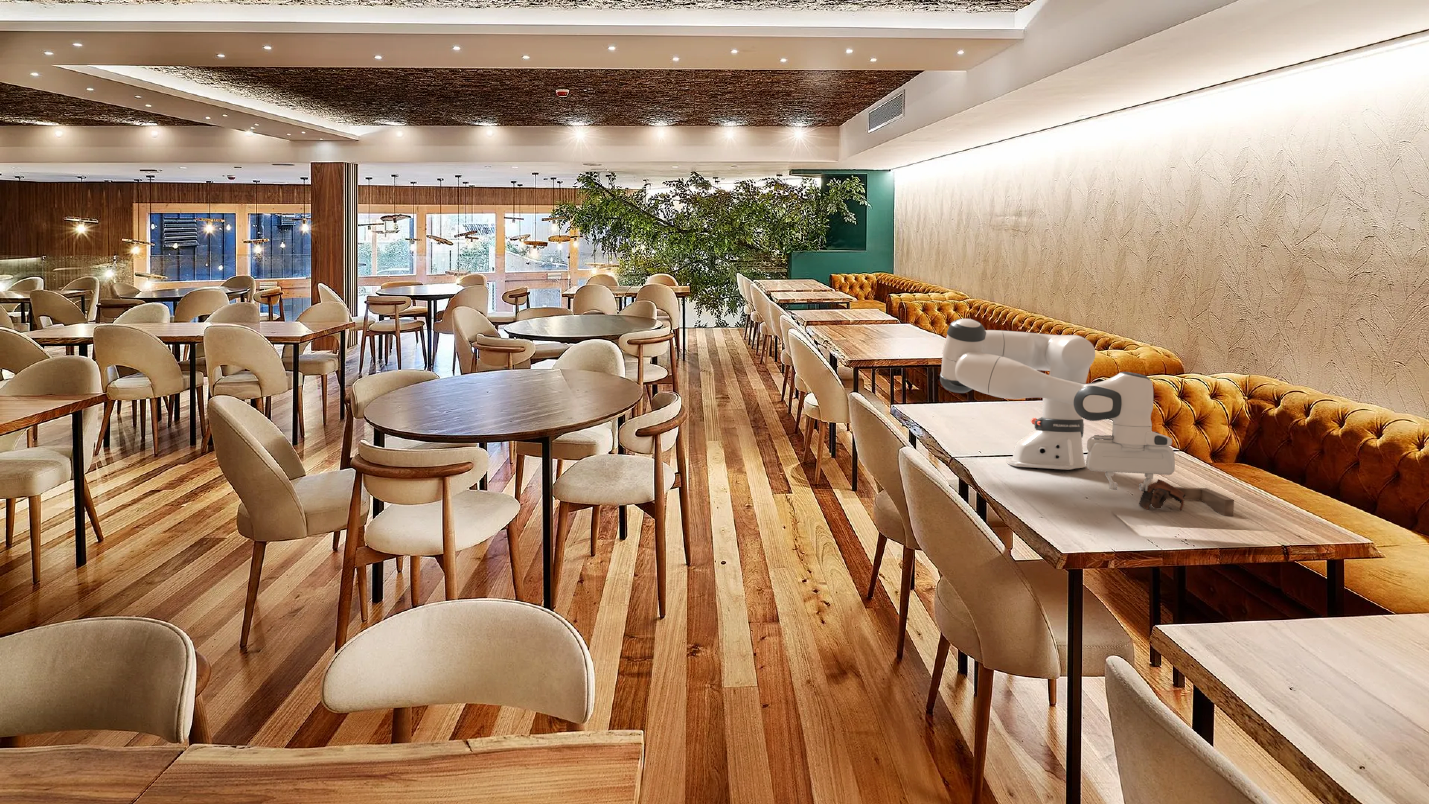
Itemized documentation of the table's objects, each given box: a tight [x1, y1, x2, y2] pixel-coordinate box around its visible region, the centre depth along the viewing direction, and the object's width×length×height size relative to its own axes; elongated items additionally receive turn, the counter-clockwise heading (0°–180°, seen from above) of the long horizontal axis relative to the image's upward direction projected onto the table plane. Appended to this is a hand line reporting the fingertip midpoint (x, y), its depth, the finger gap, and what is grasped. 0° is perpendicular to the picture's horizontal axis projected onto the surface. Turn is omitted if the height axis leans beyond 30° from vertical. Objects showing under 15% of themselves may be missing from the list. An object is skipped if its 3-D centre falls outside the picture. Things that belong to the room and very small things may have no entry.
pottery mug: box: [1138, 479, 1186, 511], centre depth 205 cm, size 12×9×8 cm
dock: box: [1153, 486, 1235, 517], centre depth 207 cm, size 13×16×4 cm
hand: (1128, 490), depth 207 cm, fingers open, 6 cm apart
